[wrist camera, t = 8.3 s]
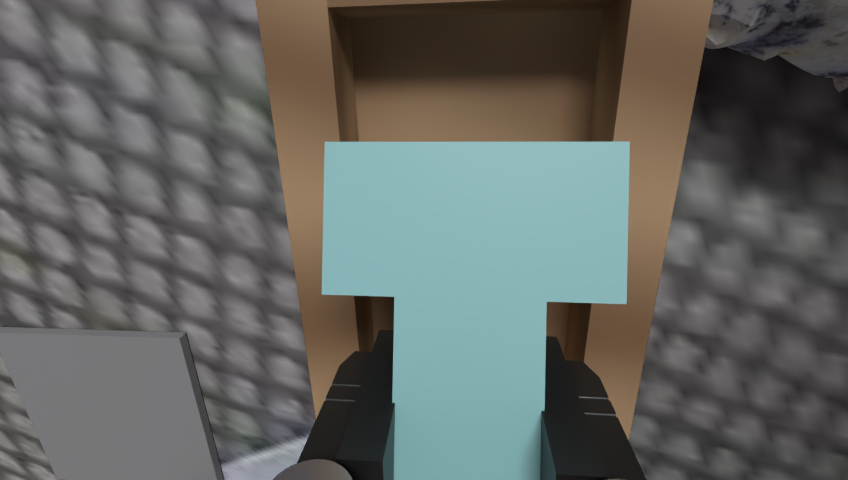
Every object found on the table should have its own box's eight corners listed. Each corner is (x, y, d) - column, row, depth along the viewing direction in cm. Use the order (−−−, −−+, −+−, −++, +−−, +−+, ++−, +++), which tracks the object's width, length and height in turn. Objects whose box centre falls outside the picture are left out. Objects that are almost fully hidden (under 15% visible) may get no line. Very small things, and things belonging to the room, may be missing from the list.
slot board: (292, -29, 12) (219, -75, 8) (667, -48, 11) (764, -108, 7) (346, 438, 18) (317, 527, 14) (590, 451, 17) (624, 549, 13)
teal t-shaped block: (324, 141, 7) (314, 642, 7) (629, 141, 7) (619, 673, 7) (359, 167, 10) (352, 538, 10) (584, 168, 9) (576, 557, 9)
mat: (1, 326, 17) (-9, 332, 17) (185, 332, 17) (179, 338, 16) (64, 471, 20) (57, 478, 20) (224, 481, 19) (219, 489, 19)
